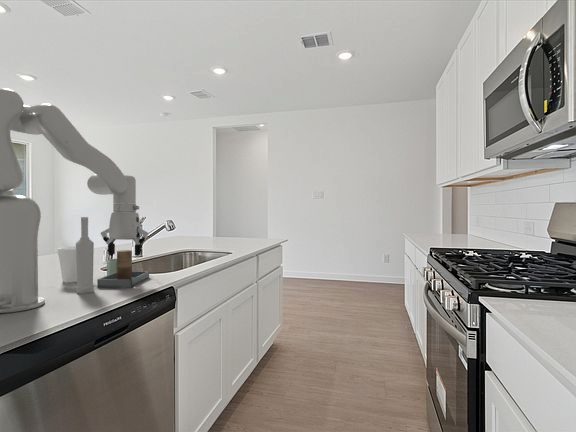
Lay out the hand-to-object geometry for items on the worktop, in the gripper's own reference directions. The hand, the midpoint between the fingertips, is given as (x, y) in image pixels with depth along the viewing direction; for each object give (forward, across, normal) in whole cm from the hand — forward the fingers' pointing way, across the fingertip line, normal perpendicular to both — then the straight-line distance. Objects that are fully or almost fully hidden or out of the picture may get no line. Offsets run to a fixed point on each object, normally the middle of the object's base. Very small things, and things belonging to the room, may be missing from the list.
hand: (124, 254), depth 126 cm
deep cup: (+11, +9, -13) cm, 19 cm away
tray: (+11, 0, 0) cm, 11 cm away
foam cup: (+11, +20, -1) cm, 23 cm away
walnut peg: (+10, 0, 0) cm, 10 cm away
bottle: (+11, +7, +13) cm, 18 cm away
